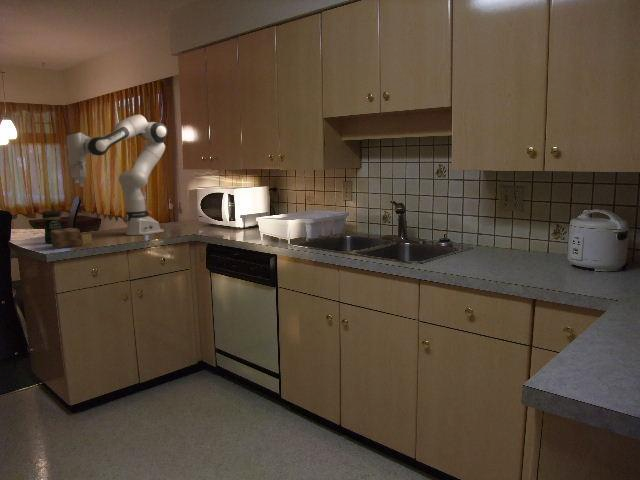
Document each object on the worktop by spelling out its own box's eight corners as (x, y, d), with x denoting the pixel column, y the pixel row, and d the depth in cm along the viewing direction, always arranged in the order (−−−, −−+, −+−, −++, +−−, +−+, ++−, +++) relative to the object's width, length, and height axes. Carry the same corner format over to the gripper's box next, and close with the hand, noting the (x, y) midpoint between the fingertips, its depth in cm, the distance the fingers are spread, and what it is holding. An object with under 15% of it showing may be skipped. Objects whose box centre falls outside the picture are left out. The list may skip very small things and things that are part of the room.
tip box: (76, 243, 286) (74, 227, 284) (81, 246, 276) (79, 229, 275) (52, 246, 278) (50, 230, 277) (57, 249, 269) (55, 232, 267)
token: (91, 242, 289) (90, 233, 288) (92, 242, 287) (91, 234, 286) (81, 243, 286) (80, 234, 285) (82, 243, 284) (81, 235, 283)
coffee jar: (46, 244, 286) (42, 212, 283) (44, 242, 293) (40, 211, 290) (65, 242, 292) (61, 210, 289) (62, 240, 298) (58, 209, 295)
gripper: (88, 161, 277) (90, 186, 279) (78, 161, 293) (81, 185, 295) (75, 161, 273) (78, 187, 275) (67, 161, 289) (69, 186, 291)
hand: (79, 186), depth 285 cm, fingers open, 8 cm apart
